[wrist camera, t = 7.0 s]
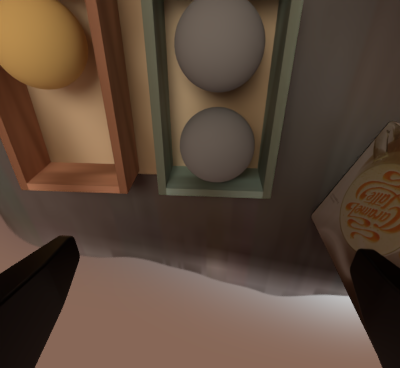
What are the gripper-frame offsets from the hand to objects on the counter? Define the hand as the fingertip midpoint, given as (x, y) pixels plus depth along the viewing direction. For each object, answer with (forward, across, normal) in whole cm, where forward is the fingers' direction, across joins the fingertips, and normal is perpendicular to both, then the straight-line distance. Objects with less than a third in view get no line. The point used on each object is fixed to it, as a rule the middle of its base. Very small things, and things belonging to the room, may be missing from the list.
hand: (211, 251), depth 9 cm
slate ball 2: (+11, 0, 0) cm, 11 cm away
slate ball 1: (+11, 0, -5) cm, 12 cm away
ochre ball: (+11, +9, -5) cm, 15 cm away
